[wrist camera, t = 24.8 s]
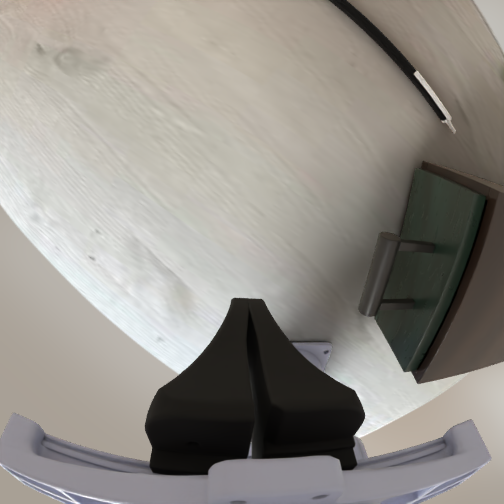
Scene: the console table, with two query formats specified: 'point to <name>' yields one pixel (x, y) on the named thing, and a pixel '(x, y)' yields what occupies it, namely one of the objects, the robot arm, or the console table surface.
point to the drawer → (422, 265)
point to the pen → (397, 59)
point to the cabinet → (473, 294)
